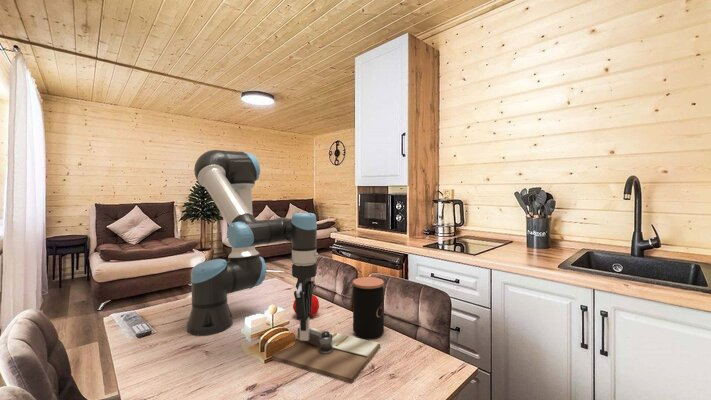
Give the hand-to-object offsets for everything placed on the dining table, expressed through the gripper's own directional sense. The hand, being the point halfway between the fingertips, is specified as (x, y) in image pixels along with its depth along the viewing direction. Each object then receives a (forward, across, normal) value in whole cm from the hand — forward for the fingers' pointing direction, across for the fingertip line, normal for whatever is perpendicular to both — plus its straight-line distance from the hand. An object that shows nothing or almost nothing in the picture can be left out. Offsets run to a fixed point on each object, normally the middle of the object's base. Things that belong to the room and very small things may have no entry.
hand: (304, 339), depth 98 cm
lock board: (+4, -1, -7) cm, 8 cm away
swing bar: (+1, +1, -3) cm, 3 cm away
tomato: (+3, +26, +8) cm, 27 cm away
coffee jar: (+3, +15, -18) cm, 24 cm away
